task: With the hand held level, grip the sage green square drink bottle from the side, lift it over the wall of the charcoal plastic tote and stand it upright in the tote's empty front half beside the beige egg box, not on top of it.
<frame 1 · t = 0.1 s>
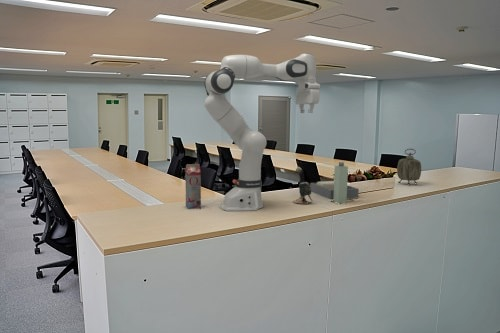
hand: (306, 113, 204), 48 cm above the table, fingers open, 8 cm apart
drink bottle: (339, 202, 212), on the table
juice carton: (193, 207, 197), on the table
tabletop clock: (408, 185, 270), on the table
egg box: (328, 192, 235), point 1 cm above the table, touching tote
tote: (333, 195, 230), on the table
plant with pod: (303, 203, 209), on the table
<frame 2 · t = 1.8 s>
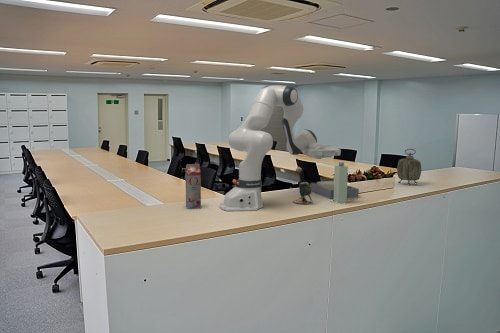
hand: (330, 153, 220), 25 cm above the table, fingers open, 8 cm apart
nothing on the table moved.
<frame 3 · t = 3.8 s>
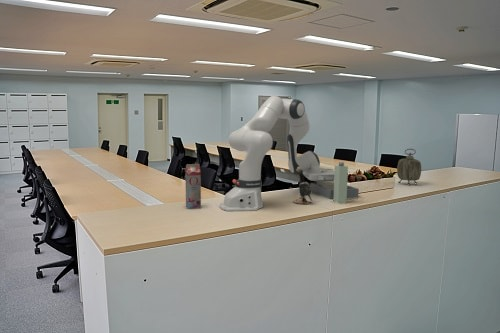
hand: (331, 178, 219), 12 cm above the table, fingers open, 8 cm apart
nothing on the table moved.
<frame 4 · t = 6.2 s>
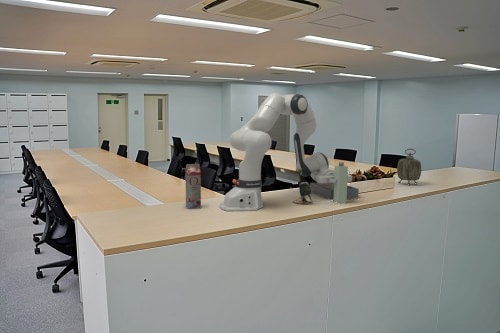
hand: (341, 181, 209), 12 cm above the table, fingers closed on drink bottle, 5 cm apart
drink bottle: (339, 202, 212), on the table, touching gripper
everything else where it was.
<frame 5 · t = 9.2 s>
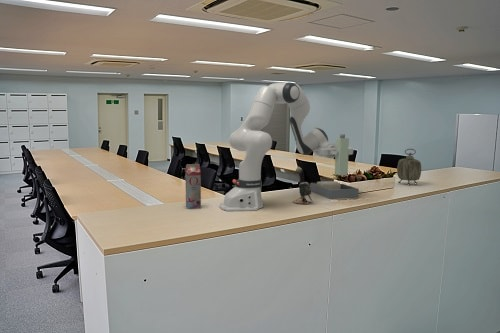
hand: (342, 152, 213), 27 cm above the table, fingers closed on drink bottle, 5 cm apart
drink bottle: (341, 174, 215), point 15 cm above the table, touching gripper
everything else where it was.
when the fingers open (14 cm above the table, at t = 12.4 s): drink bottle stays where it is, resting on tote.
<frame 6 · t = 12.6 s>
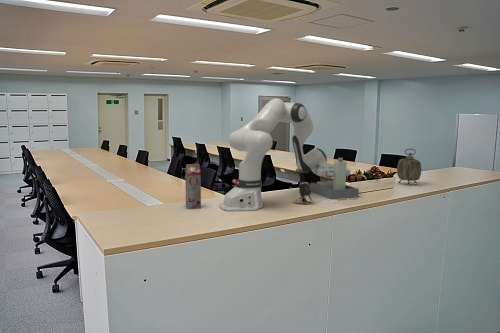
hand: (340, 174, 221), 14 cm above the table, fingers open, 7 cm apart
drink bottle: (338, 196, 224), point 1 cm above the table, touching tote
everything else where it was.
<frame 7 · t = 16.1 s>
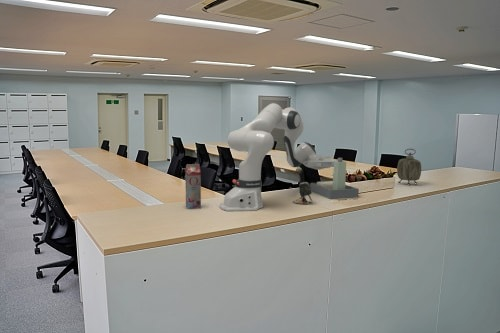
hand: (328, 165, 233), 17 cm above the table, fingers open, 8 cm apart
nothing on the table moved.
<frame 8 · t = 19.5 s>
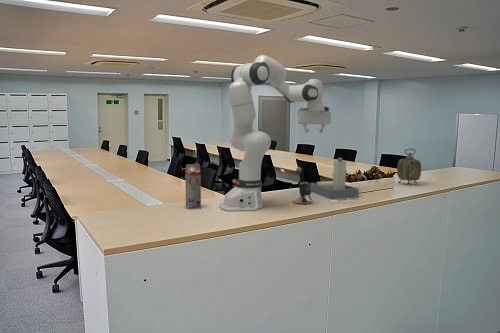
hand: (313, 132, 225), 37 cm above the table, fingers open, 8 cm apart
nothing on the table moved.
at the end: drink bottle inside the target area on the tote (1.3 cm from its centre), point 1.0 cm above the tote's base; drink bottle tilted 0°; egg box moved 0.0 cm from its start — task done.
